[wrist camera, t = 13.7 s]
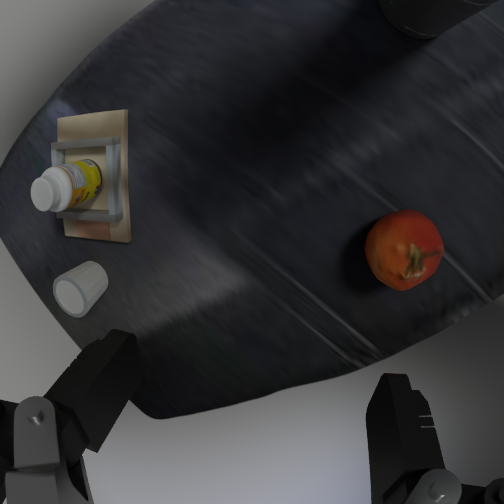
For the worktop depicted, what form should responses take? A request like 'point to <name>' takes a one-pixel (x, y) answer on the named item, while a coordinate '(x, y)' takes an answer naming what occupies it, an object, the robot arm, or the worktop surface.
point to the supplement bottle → (67, 185)
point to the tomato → (403, 249)
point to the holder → (114, 170)
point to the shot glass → (80, 288)
